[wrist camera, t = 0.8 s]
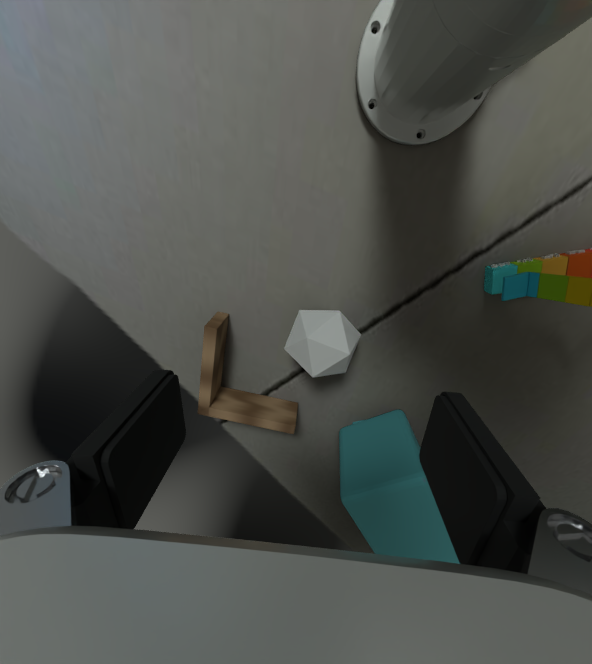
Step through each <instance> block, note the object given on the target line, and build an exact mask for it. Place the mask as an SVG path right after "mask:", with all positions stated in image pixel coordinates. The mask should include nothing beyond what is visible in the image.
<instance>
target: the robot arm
mask: <svg viewBox="0 0 592 664" xmlns="http://www.w3.org/2000/svg"><path fill="white" fill-rule="evenodd" d="M591 17H592V0H381V1H380V2H379V4H378V5H377V7H376V8H375V9H374V11H373V13H372V15H371V17H370V19H369V21H368V23H367V25H366V28H365V31H364V34H363V37H362V40H361V43H360V47H359V52H358V56H357V66H356V84H357V92H358V96H359V101H360V104H361V107H362V109H363V111H364V114H365V116H366V117H367V119H368V120H369V122H370V123H371V125H372V126H373V127H374V128H375V129H376V130H377V131H378V132H379V133H380V134H381V135H382V136H384V137H386V138H387V139H389V140H391V141H393V142H396V143H399V144H403V145H421V144H427V143H430V142H433V141H436V140H439V139H441V138H443V137H445V136H447V135H449V134H450V133H451V132H453V131H454V130H456V129H457V128H459V127H460V126H461V125H462V124H463V123H465V122H466V121H467V120H468V119H469V118H470V117H471V116H472V115H473V113H474V112H475V111H476V110H477V108H478V107H479V106H480V105H481V103H482V102H483V100H484V98H485V97H486V95H487V93H488V91H489V90H490V88H491V86H492V85H493V84H495V83H496V82H498V81H499V80H501V79H502V78H504V77H505V76H507V75H508V74H510V73H511V72H513V71H514V70H516V69H517V68H518V67H520V66H521V65H523V64H524V63H526V62H527V61H529V60H530V59H532V58H533V57H535V56H536V55H538V54H539V53H541V52H542V51H544V50H545V49H547V48H548V47H550V46H551V45H553V44H554V43H556V42H557V41H559V40H560V39H562V38H563V37H565V36H566V35H567V34H568V33H570V32H571V31H573V30H574V29H576V28H577V27H579V26H580V25H581V24H583V23H584V22H586V21H587V20H588V19H590V18H591ZM373 29H375V30H376V32H377V33H376V34H373V33H372V32H371V31H372V30H373ZM475 96H476V98H475V100H474V99H473V98H474V97H475ZM370 104H373V106H374V108H373V109H370V108H369V105H370ZM417 133H420V135H421V137H420V138H417V136H416V135H417ZM185 435H186V429H185V422H184V416H183V408H182V401H181V394H180V386H179V379H178V376H177V375H174V373H173V371H171V370H154V371H153V372H152V373H151V374H150V375H149V376H148V377H147V378H146V379H145V380H144V381H143V382H142V383H141V384H140V385H139V386H138V387H137V388H136V389H135V390H134V391H133V392H132V393H131V394H130V395H129V396H128V397H127V398H126V399H125V400H124V401H123V402H122V403H121V404H120V405H119V406H118V407H117V408H116V410H114V411H113V412H112V414H111V415H109V417H107V419H106V420H105V421H104V422H103V423H102V424H101V425H100V426H99V427H98V428H97V429H96V430H95V431H94V432H93V433H92V434H91V435H90V436H89V437H88V438H87V439H86V440H85V441H84V442H83V443H82V444H81V445H80V446H79V447H78V448H77V449H76V450H75V451H74V452H73V453H72V457H71V458H70V459H69V460H68V461H67V462H66V463H64V462H61V461H56V460H55V461H46V462H42V463H38V464H35V465H33V466H31V467H28V468H26V469H24V470H22V471H21V472H19V473H17V474H16V475H14V476H13V477H12V478H11V479H9V480H8V481H7V482H6V483H5V484H4V485H3V486H2V488H1V489H0V664H592V524H591V523H590V522H588V521H586V520H585V519H583V518H582V517H580V516H578V515H576V514H573V513H571V512H569V511H566V510H562V509H559V508H547V509H546V508H545V506H544V505H543V504H542V502H541V501H540V500H539V499H540V497H539V496H538V495H537V493H536V492H535V491H534V489H533V488H532V487H531V485H530V484H529V483H528V481H527V480H526V479H525V477H524V476H523V475H522V473H521V472H520V471H519V469H518V468H517V467H516V465H515V464H514V463H513V461H512V460H511V459H510V457H509V456H508V455H507V453H506V452H505V451H504V449H503V448H502V447H501V445H500V444H499V443H498V441H497V440H496V439H495V437H494V436H493V435H492V433H491V432H490V431H489V429H488V428H487V427H486V425H485V424H484V423H483V421H482V420H481V419H480V417H479V416H478V415H477V413H476V412H475V411H474V409H473V408H472V407H471V405H470V404H469V403H468V401H467V400H466V399H465V397H464V396H463V395H462V394H461V393H452V392H442V393H441V395H440V396H436V398H435V400H434V404H433V407H432V411H431V414H430V418H429V421H428V425H427V428H426V431H425V435H424V438H423V442H422V445H421V449H420V453H419V459H420V463H421V466H422V468H423V471H424V473H425V476H426V479H427V481H428V484H429V486H430V489H431V491H432V494H433V496H434V499H435V502H436V504H437V507H438V509H439V512H440V514H441V517H442V520H443V522H444V525H445V527H446V530H447V532H448V535H449V537H450V540H451V543H452V545H453V548H454V550H455V553H456V555H457V558H458V560H459V562H460V564H457V563H449V562H441V561H434V560H425V559H416V558H407V557H398V556H389V555H380V554H371V553H362V552H353V551H344V550H334V549H325V548H315V547H305V546H296V545H286V544H277V543H267V542H258V541H248V540H239V539H229V538H218V537H208V536H199V535H188V534H178V533H169V532H159V531H148V530H135V529H134V528H135V526H136V524H137V523H138V521H139V519H140V517H141V516H142V514H143V512H144V510H145V509H146V507H147V505H148V503H149V501H150V500H151V498H152V496H153V494H154V493H155V491H156V489H157V487H158V486H159V484H160V482H161V480H162V479H163V477H164V475H165V473H166V472H167V470H168V468H169V466H170V465H171V463H172V461H173V459H174V457H175V456H176V454H177V452H178V451H179V449H180V447H181V445H182V443H183V442H184V439H185Z"/></svg>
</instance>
